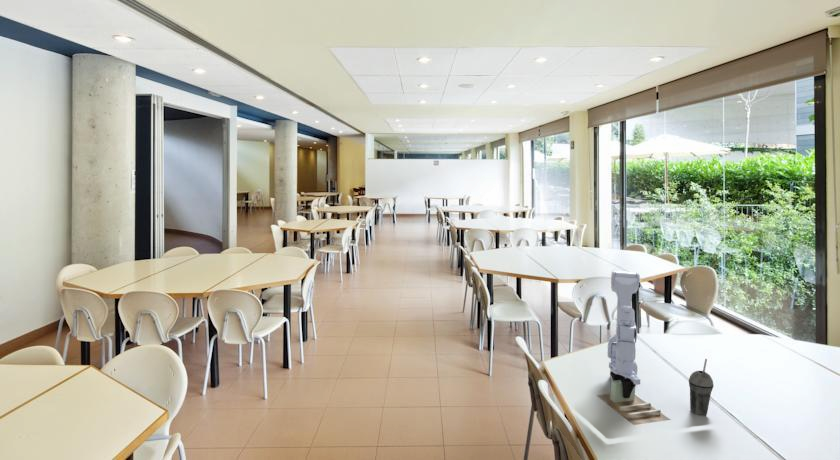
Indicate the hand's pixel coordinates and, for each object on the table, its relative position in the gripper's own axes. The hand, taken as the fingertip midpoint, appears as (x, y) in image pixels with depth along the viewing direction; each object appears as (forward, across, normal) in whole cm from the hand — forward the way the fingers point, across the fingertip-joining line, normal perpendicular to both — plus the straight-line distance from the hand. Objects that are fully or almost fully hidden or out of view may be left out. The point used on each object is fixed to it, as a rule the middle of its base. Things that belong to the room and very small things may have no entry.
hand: (622, 394), depth 163 cm
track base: (+3, +5, 0) cm, 6 cm away
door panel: (+2, 0, 0) cm, 2 cm away
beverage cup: (+3, +13, +20) cm, 24 cm away
